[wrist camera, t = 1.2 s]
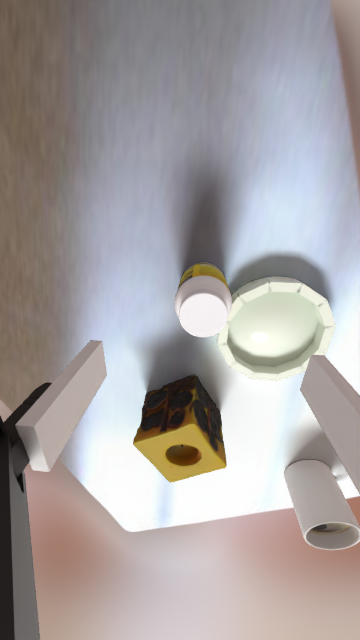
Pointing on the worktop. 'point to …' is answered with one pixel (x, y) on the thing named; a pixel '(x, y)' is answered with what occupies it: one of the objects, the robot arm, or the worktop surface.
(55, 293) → the worktop surface
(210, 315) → the pill bottle
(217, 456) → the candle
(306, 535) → the mug
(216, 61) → the worktop surface
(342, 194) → the worktop surface
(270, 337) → the sage dish
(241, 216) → the worktop surface
